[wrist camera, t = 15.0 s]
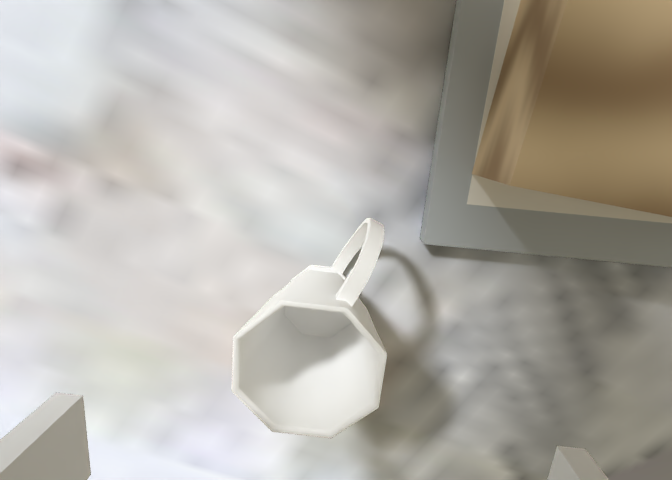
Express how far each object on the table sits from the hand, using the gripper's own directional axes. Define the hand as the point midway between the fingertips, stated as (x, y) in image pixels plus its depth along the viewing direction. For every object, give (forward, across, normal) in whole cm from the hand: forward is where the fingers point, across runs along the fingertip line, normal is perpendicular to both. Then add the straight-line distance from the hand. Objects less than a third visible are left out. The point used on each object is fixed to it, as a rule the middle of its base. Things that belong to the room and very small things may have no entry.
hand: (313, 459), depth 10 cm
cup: (+14, 0, 0) cm, 14 cm away
